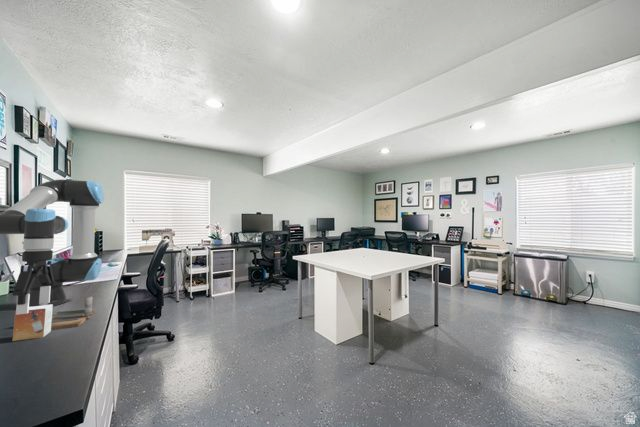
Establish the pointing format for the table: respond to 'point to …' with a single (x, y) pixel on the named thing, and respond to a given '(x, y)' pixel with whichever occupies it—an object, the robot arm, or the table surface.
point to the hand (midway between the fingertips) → (34, 308)
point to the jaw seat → (71, 316)
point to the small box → (33, 323)
